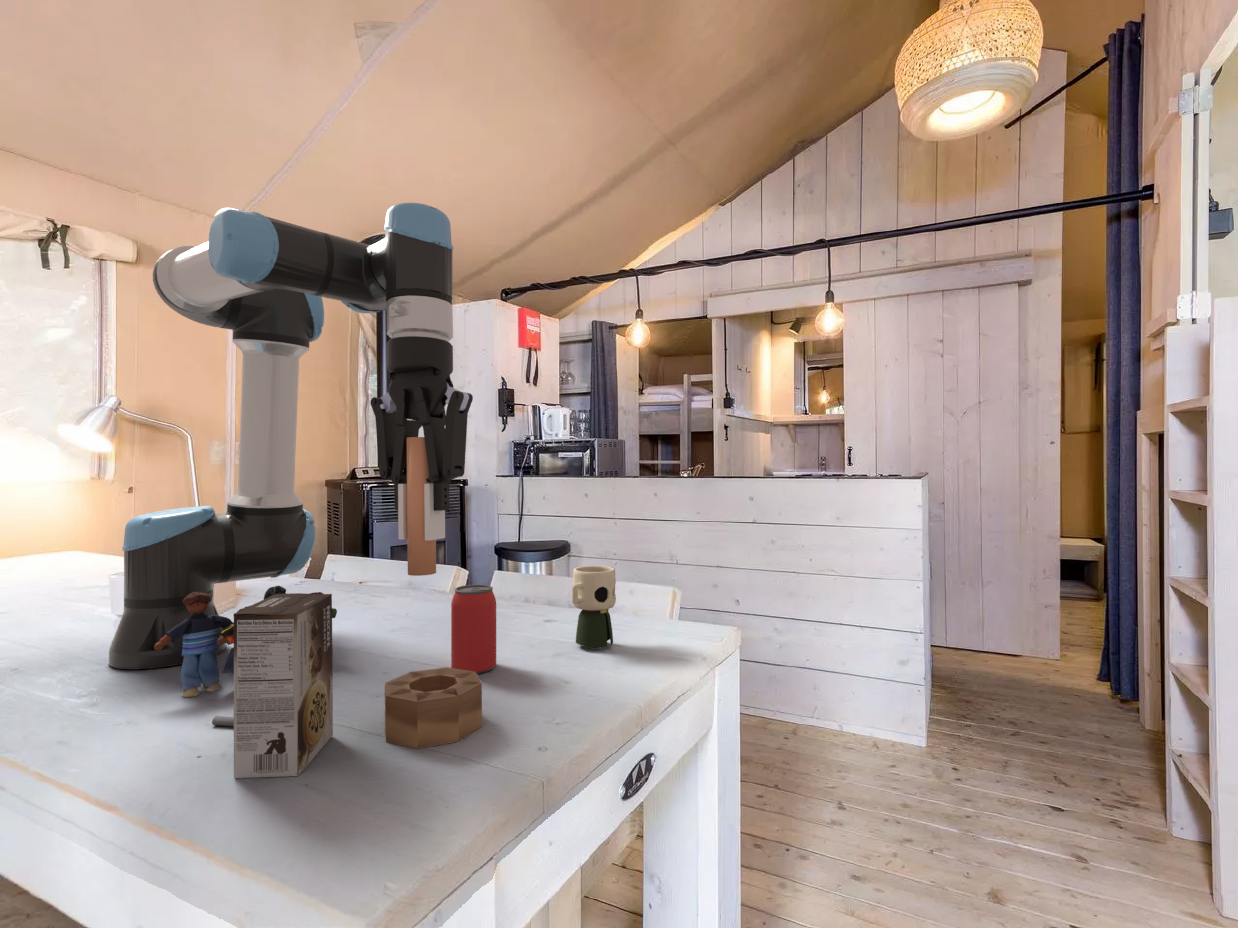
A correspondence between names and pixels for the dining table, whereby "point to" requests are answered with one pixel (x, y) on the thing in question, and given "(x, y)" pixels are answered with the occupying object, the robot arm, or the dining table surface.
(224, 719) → the grey thin rod
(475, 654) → the beer can
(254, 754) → the coffee box
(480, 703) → the bead
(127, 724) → the dining table surface
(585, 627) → the character mug
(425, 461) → the peach rounded rod
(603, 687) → the dining table surface
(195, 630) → the doll family
